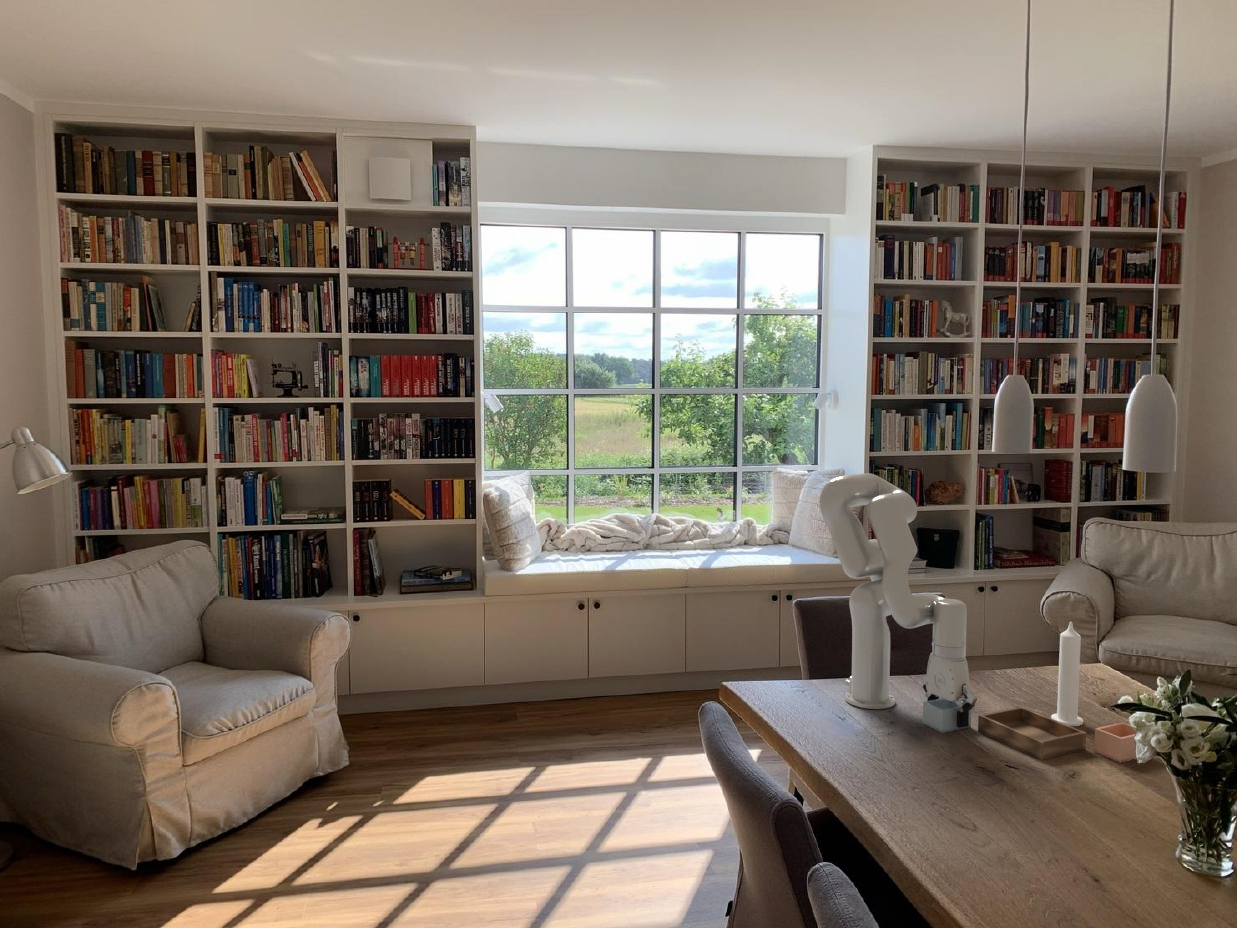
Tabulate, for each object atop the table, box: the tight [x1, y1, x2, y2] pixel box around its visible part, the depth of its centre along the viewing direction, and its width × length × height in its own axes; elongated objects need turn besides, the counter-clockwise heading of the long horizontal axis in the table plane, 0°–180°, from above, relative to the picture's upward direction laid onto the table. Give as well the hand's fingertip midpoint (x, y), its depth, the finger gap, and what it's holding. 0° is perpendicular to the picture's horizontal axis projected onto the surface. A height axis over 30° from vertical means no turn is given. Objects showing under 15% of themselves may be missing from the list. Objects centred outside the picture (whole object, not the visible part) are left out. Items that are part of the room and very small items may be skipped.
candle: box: [1050, 621, 1084, 727], centre depth 219 cm, size 7×7×25 cm
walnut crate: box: [977, 706, 1087, 761], centre depth 208 cm, size 18×14×4 cm
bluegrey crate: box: [922, 698, 972, 734], centre depth 217 cm, size 6×9×6 cm
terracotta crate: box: [1093, 722, 1136, 764], centre depth 200 cm, size 6×9×6 cm
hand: (947, 719), depth 217 cm, fingers open, 9 cm apart
